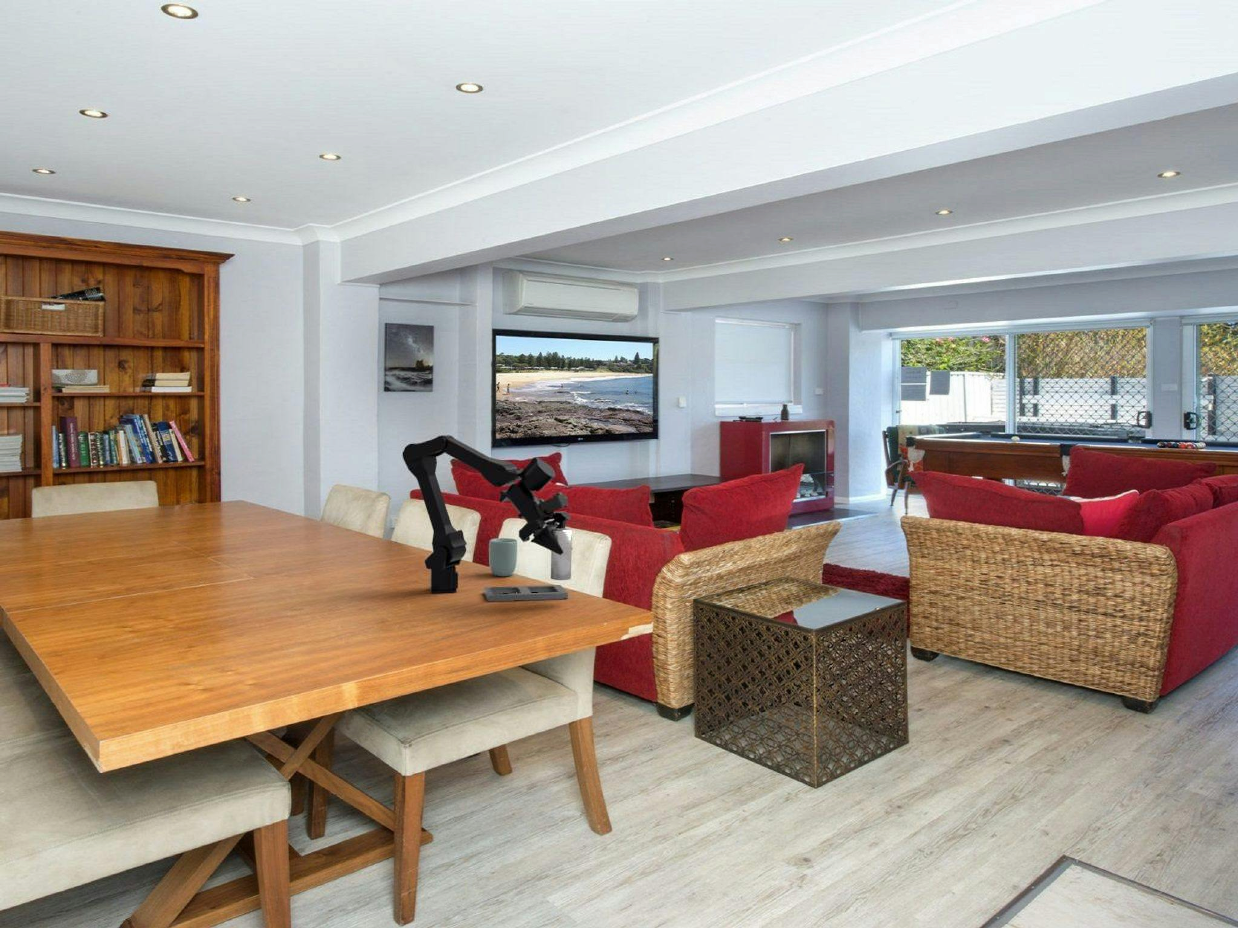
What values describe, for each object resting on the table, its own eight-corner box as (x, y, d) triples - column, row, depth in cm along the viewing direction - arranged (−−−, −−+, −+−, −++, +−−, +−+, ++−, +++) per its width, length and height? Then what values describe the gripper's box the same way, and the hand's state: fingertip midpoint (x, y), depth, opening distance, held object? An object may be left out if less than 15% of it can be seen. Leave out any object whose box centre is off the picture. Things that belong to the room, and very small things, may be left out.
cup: (511, 578, 249) (512, 543, 249) (485, 576, 251) (485, 541, 250) (520, 573, 257) (520, 538, 256) (494, 571, 259) (494, 537, 258)
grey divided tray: (488, 601, 221) (488, 595, 221) (483, 592, 230) (483, 587, 230) (567, 598, 226) (567, 592, 226) (560, 590, 236) (560, 584, 235)
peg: (552, 580, 216) (553, 531, 215) (548, 576, 221) (549, 528, 220) (572, 579, 218) (574, 531, 217) (568, 575, 222) (569, 528, 222)
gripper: (531, 485, 210) (573, 536, 207) (564, 479, 228) (603, 526, 225) (501, 516, 214) (541, 566, 211) (535, 508, 231) (573, 554, 228)
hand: (566, 552), depth 218 cm, fingers closed on peg, 5 cm apart
